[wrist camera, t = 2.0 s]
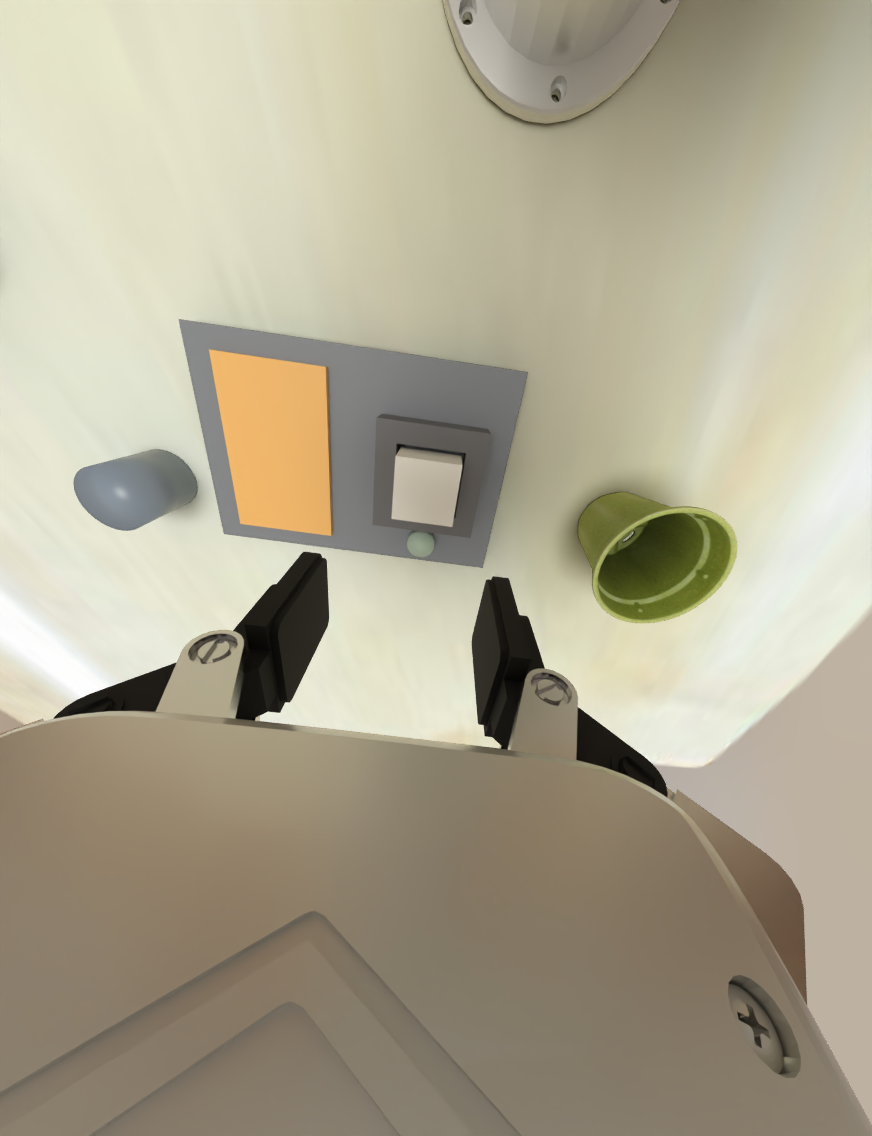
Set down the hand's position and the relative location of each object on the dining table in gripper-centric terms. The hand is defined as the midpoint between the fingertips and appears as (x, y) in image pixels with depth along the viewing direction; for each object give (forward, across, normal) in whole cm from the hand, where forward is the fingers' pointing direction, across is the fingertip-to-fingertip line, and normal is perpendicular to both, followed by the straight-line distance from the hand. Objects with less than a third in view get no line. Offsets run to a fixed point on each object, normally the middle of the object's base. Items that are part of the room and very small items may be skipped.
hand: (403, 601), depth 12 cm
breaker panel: (+20, +6, 0) cm, 20 cm away
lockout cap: (+20, +23, +4) cm, 31 cm away
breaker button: (+16, 0, 0) cm, 16 cm away
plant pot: (+20, -17, +3) cm, 26 cm away
